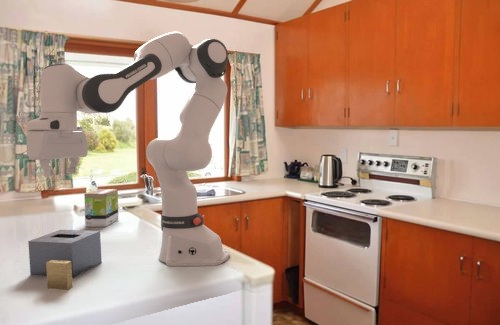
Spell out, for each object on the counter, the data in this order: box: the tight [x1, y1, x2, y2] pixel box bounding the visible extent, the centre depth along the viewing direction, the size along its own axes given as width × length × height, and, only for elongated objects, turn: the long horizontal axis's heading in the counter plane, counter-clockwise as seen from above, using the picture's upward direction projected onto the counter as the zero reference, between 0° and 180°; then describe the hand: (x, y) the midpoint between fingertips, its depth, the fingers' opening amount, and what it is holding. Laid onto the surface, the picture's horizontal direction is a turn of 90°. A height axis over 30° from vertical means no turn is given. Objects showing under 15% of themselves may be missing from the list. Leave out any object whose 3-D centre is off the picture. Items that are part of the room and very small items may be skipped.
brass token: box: [46, 260, 74, 291], centre depth 109 cm, size 6×2×7 cm, turn 78°
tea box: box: [84, 188, 119, 228], centre depth 187 cm, size 15×10×15 cm
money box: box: [27, 229, 102, 279], centre depth 125 cm, size 14×14×10 cm
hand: (60, 175), depth 113 cm, fingers open, 8 cm apart
